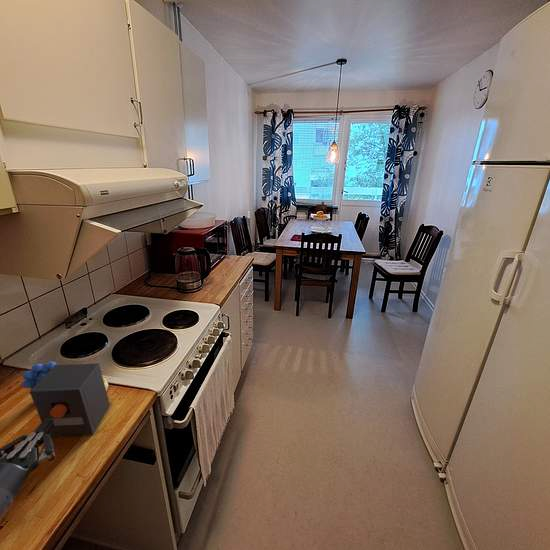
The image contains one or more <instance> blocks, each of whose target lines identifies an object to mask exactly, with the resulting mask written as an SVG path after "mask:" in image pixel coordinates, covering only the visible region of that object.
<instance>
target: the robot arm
mask: <svg viewBox="0 0 550 550" xmlns="http://www.w3.org/2000/svg"><path fill="white" fill-rule="evenodd" d="M54 427H55V425H54V422H53V419H49V420H45V421H44V422H40V424H39V425H38V426H37V428H36V429H35V430H34V431H33V432H31V433H29V435H26V434H22V435H20V436H19V437H17V438H15V439H14V440H12V441H10V442H9V443H7V444H6V445H4V446H2V447H0V521H1V520H2V519H3V518H4V516H5V515H6V513H7V512H8V510H9V509H10V508H11V506H12V505H13V503H14V502H15V501H16V499H17V498H18V496H19V495H20V493H21V492H22V490H23V489H24V488H25V486H26V485H27V483H28V482H29V479H30V477H31V474H32V473H33V472H34V471H36V470H37V469H38V468H39V467H40V465H41V464H42V463H43V462H45V461H47V460H48V461H51V462H52V461H54V460H55V459H56V453H55V448H54V442H53V439H52V437H50V433H51V431H52V430H53V429H54ZM43 446H44V448H43Z"/></svg>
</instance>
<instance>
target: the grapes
mask: <svg viewBox="0 0 550 550" xmlns="http://www.w3.org/2000/svg"><path fill="white" fill-rule="evenodd" d="M55 365H58V364H57V362H55V361H47V362H46V363H45V364H42V363H35V364H33V365H32V366H31V370H26V371H24V372H23V373H22V378H23V379H24V380H23V381H22V382H21V385H22V388H24V389H30V391H31V390H32V389H33V388H34V387H35V386H36V385H37V383H38V382H39V381H40V380H41V379H42V378H43V377H44V376H45V375H46V374H47V373H48V372H49V371H50V370H51V369H52V368H53V367H54V366H55Z"/></svg>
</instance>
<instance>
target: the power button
mask: <svg viewBox="0 0 550 550" xmlns="http://www.w3.org/2000/svg"><path fill="white" fill-rule="evenodd" d="M66 411H67V408H66V406H64V405H62V404H57V405H55V406H54V407H53V408H52V410H51V411H50V414H51V416H53V417H55V418H61V417H63V415H64V414H65V413H66Z"/></svg>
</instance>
